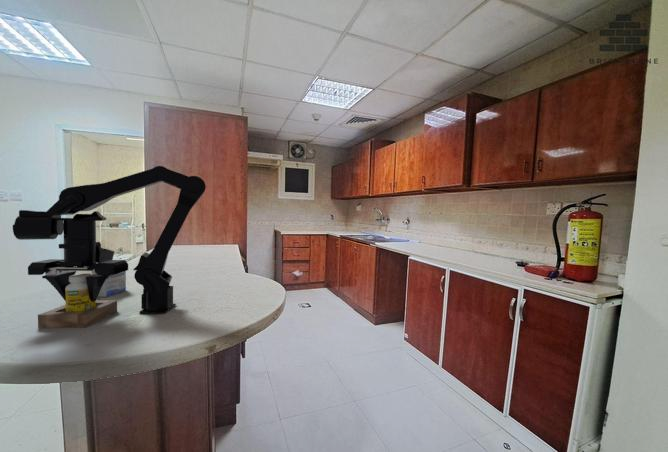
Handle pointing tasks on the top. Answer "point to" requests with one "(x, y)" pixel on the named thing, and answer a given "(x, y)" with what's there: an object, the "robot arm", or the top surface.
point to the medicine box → (113, 284)
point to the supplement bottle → (78, 294)
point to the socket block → (76, 315)
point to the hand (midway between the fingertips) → (81, 301)
